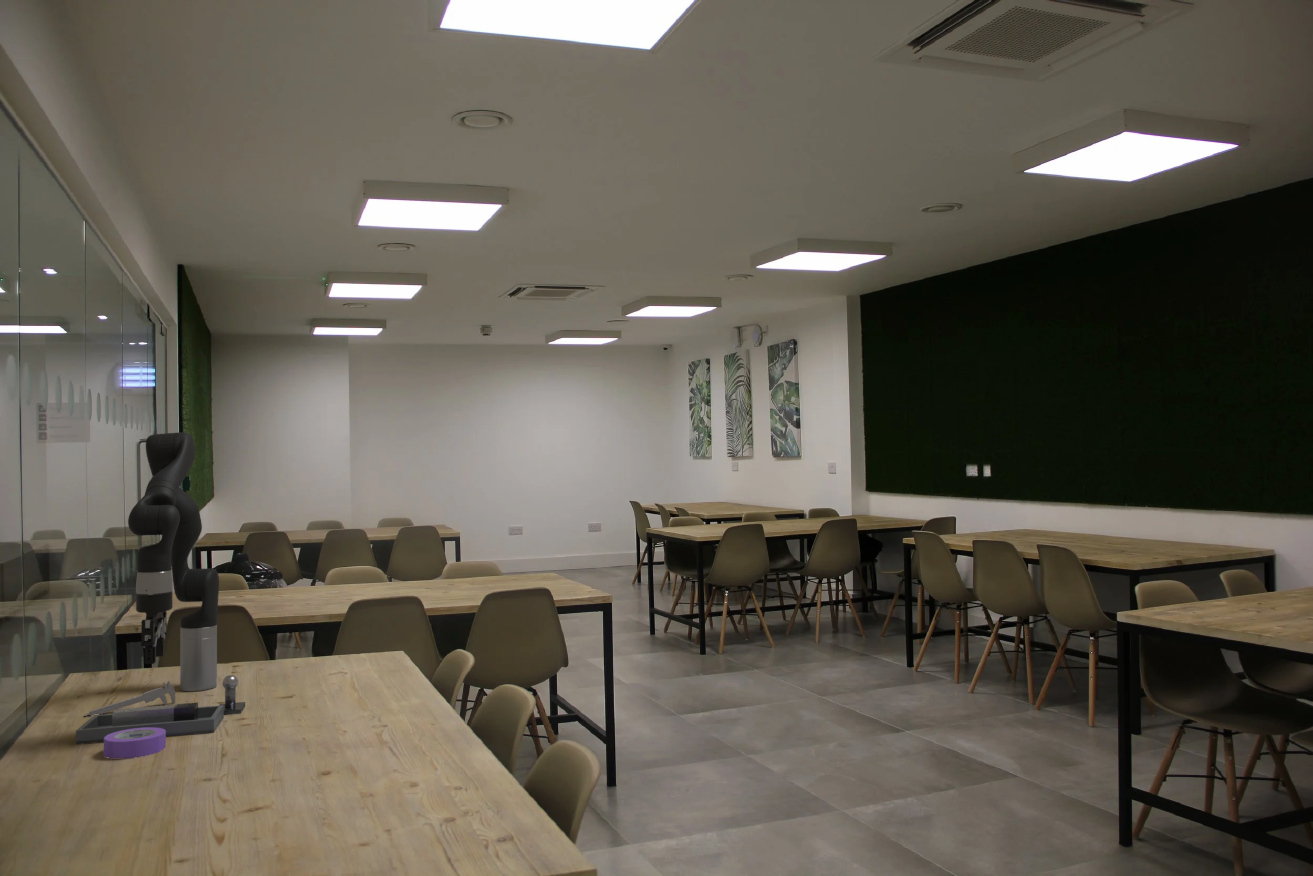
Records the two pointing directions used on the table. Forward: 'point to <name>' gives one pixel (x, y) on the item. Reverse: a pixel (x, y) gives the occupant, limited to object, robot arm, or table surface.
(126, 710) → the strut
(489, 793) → the table surface
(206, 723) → the tray
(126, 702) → the caliper
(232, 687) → the ball stud
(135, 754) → the masking tape
